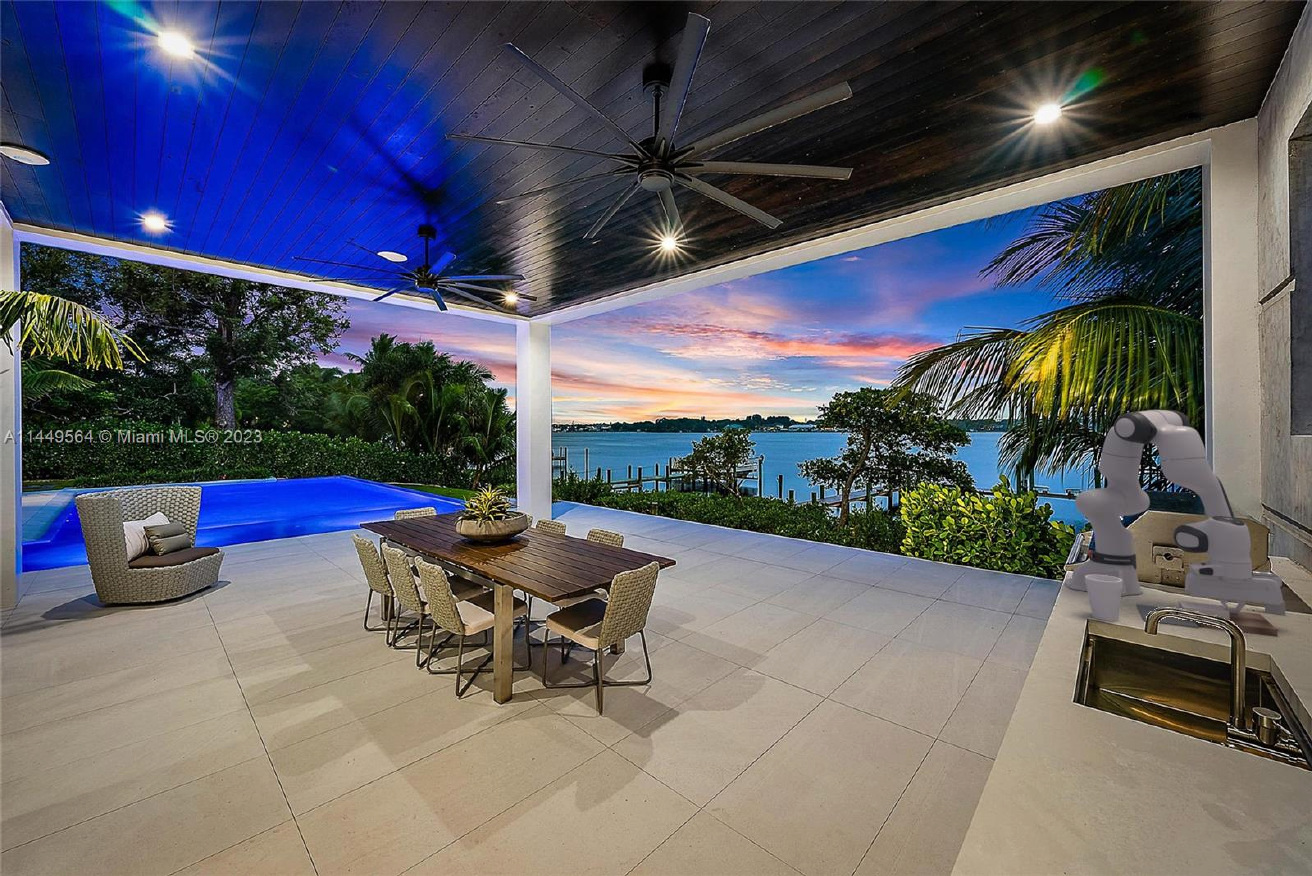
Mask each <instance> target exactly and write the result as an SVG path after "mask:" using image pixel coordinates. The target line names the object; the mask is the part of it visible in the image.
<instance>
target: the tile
mask: <svg viewBox="0 0 1312 876" xmlns="http://www.w3.org/2000/svg"><path fill="white" fill-rule="evenodd" d="M1177 602H1178V604H1177V605H1178V609H1179V608H1182V609H1186V610H1189V611H1199V612H1201V613H1204V614H1208V615H1217V616H1220V617H1221V618H1225V619H1226V620H1230V616H1229V611H1228V610H1227V609H1226V608H1225V607H1224V606H1223V604H1222V605H1221V604H1211V603H1201V602H1200V603H1199V602H1193V601H1192V602H1190V601H1184V600H1183V601H1181V600H1178V601H1177Z"/></svg>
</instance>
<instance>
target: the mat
mask: <svg viewBox="0 0 1312 876" xmlns="http://www.w3.org/2000/svg"><path fill="white" fill-rule="evenodd" d="M1135 605H1136V607H1137V610H1138V612H1139V613H1140V616H1141V619H1142V620H1143V621H1144V622H1145V620H1146V616H1147V615H1148V613H1149V612H1150V611H1153V610H1154V609H1156V608H1158V607H1159V606H1156V605H1148V604H1147V605H1145V604H1138V603H1136V604H1135ZM1158 624H1161V625H1162V624H1163V625H1170V626H1179V627H1187V628H1195V629H1199V628H1200V627H1199V626H1198V625H1197V624H1196V622H1194V621H1190V620H1182V619H1178V618H1174V617H1166V618H1164V619H1162V620H1160V622H1159V623H1158Z"/></svg>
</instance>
